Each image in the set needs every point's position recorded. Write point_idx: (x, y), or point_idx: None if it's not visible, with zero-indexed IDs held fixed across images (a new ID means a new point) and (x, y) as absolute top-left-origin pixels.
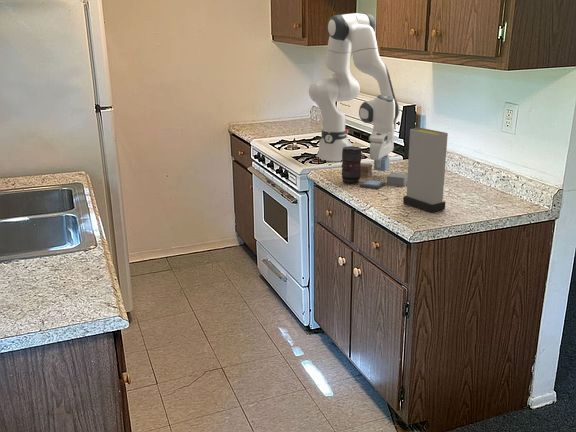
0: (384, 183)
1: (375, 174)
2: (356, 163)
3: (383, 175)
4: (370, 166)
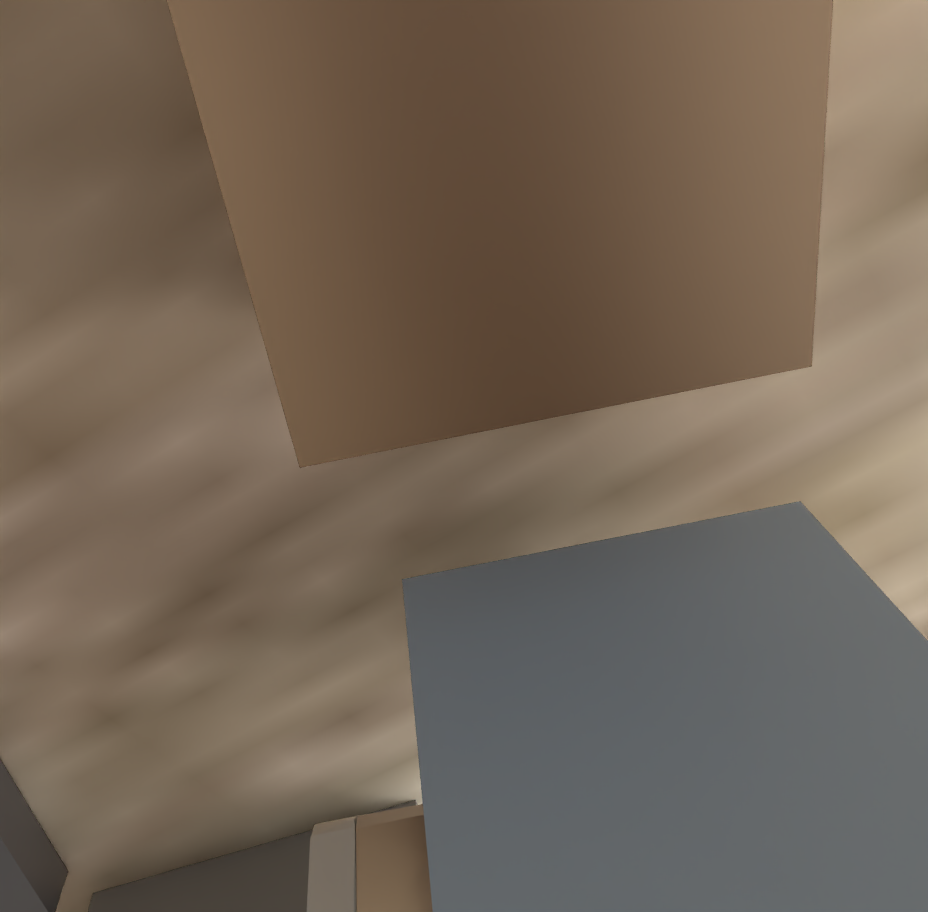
0: (35, 905)
1: None
2: None
3: (749, 493)
4: (576, 391)
